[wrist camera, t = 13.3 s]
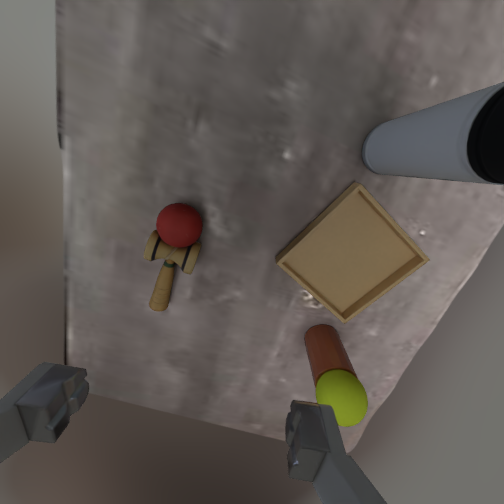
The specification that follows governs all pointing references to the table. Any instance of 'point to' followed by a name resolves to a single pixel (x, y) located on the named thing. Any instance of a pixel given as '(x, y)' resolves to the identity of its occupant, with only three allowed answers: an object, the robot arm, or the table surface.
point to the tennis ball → (342, 396)
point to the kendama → (173, 248)
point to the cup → (326, 351)
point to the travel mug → (444, 141)
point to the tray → (351, 254)
